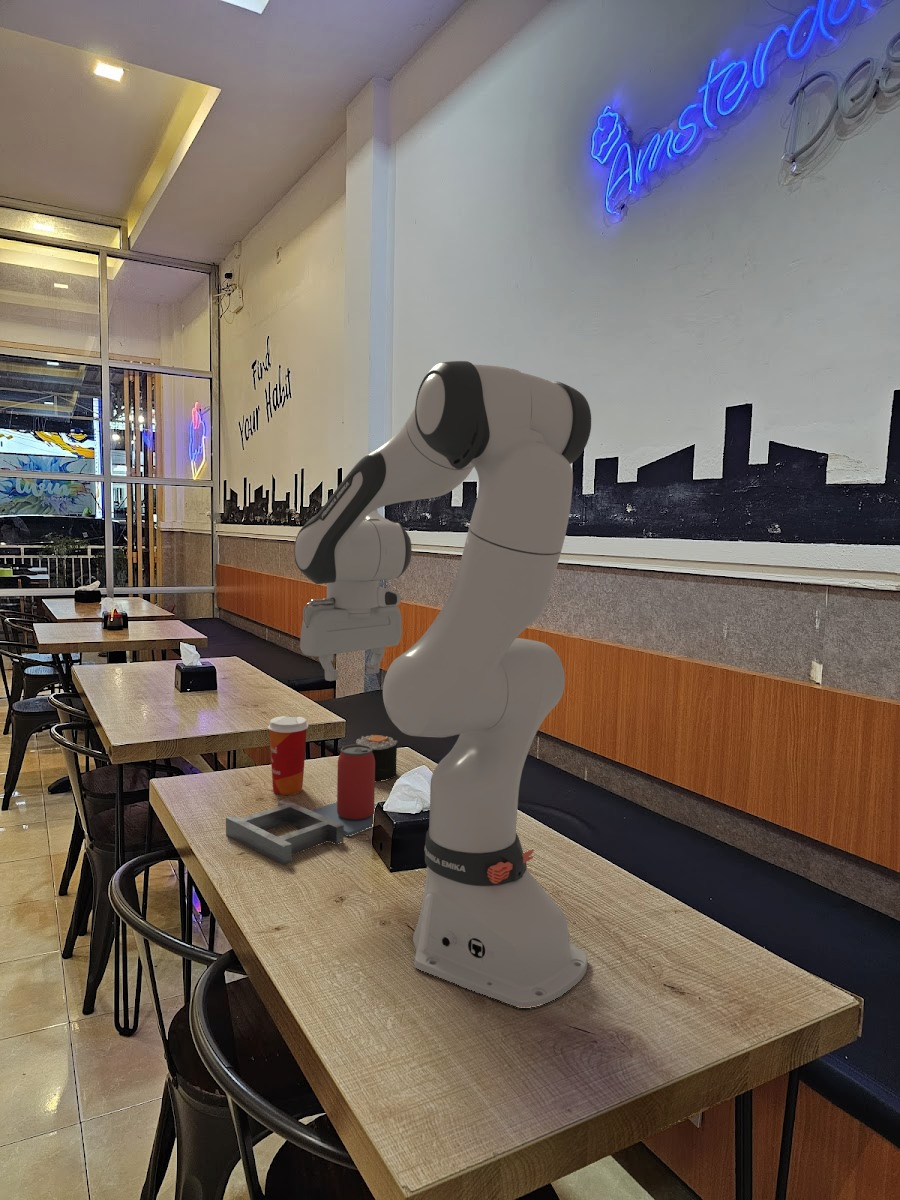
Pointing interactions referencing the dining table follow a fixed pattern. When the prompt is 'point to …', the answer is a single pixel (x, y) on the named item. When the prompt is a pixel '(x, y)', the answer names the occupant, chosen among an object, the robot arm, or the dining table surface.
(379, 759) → the sushi
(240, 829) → the frame
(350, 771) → the beer can
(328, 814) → the rubber mat
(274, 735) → the paper cup
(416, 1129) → the dining table surface
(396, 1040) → the dining table surface
